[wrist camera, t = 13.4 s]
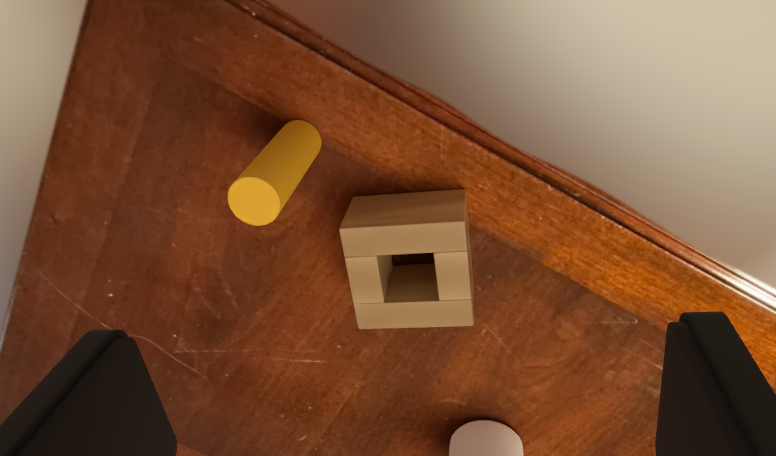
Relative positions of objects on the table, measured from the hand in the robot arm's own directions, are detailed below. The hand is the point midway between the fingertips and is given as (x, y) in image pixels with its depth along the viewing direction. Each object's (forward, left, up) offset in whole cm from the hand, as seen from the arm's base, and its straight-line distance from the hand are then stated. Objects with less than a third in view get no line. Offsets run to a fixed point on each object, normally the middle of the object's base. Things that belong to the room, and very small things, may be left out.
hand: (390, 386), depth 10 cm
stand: (+14, -4, -30) cm, 34 cm away
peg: (+5, -11, -30) cm, 33 cm away
